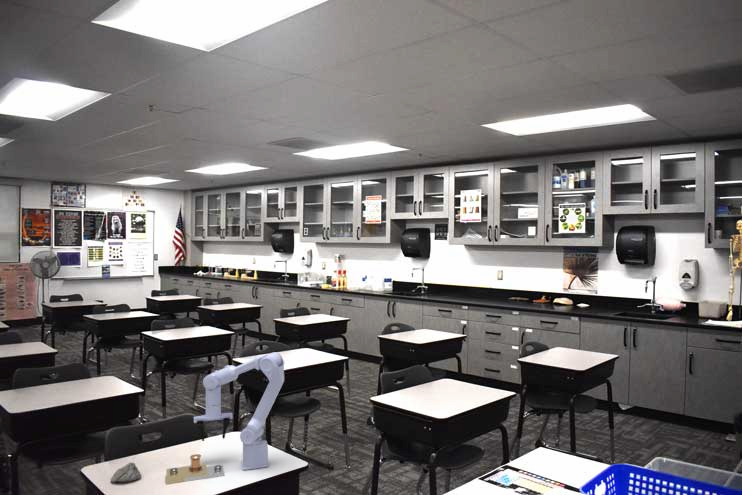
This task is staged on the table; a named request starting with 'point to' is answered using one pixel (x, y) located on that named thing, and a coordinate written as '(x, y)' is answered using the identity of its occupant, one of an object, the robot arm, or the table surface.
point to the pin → (195, 462)
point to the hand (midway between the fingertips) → (213, 438)
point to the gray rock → (126, 473)
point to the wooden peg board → (193, 473)
